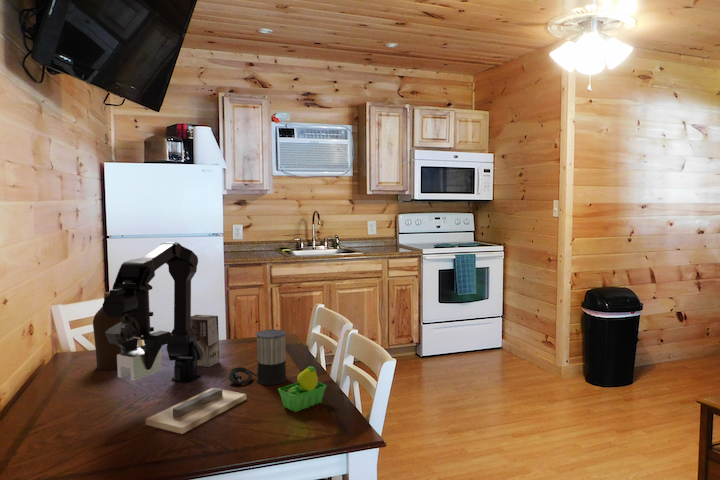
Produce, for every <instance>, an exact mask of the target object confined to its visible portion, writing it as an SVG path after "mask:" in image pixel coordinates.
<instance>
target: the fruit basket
mask: <svg viewBox="0 0 720 480" xmlns="http://www.w3.org/2000/svg"><path fill="white" fill-rule="evenodd" d="M296 378H297V379H296V381H297V382H295V383H292V384H288V385H285V386H282V387H278V388H277V390H278V393H279V395H280V398H281V402H282V404H283V408H286V409H288V410H289V411H292V412H294V413H296V412H299V411H302V409H303V410H306V409H308V408H311V407H310V406H312V407H314V406H316V405H315V404H317V405H319V404H318V403H320V404H322V400H323V397H324V393H325V391H326V388H327V385H326V384H324V383H323V382H319V378H318V375H317V369H316V367H314V366H311V365H310V366H307V368H305V369H304V370H303V371H301V372H300V373H299V374H298V375H297V377H296ZM313 405H314V406H313ZM305 408H306V409H305Z"/></svg>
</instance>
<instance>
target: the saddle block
mask: <svg viewBox="0 0 720 480" xmlns="http://www.w3.org/2000/svg"><path fill="white" fill-rule="evenodd" d="M162 360H163V359H162V348H161V349H160V350H159V352H158V354H157V356H156V359H155V361H154V363H153V365H152V368H151V369H150V370H147V369H146V363H145V353H144V350H142V349H141V348H140V346H139V347H137V348H136V349H133V350H130V351H126V352H123V353H120V354H117V369H116V370H117V378H121V379H122V378H124V377H128V376H130V381H137V380H140V379H142V378H145V377H148V376H150V375H151V376H152V375H153V374H155V373H158V372H161V371H163V364H162V363H163V362H162Z"/></svg>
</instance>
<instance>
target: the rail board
mask: <svg viewBox="0 0 720 480" xmlns="http://www.w3.org/2000/svg"><path fill="white" fill-rule="evenodd" d="M246 400H247V394H246V393H242V392H237V391H233V390H227V389H223V388H219V387H211V388H209V389H207V390H205V391H202V392H200V393H198V394H196V395H195V396H194V395H193V396H192V397H189V398H188V399H186V400H183V401H181V402H179V403H177V404H174V405H172V406H170V407H169V408H167V409H164V410H162V411H160V412H158V413H155V414H153V415H151V416H149V417H146V418H145V426H149V427H152V428H157V429H161V430H164V431H169V432H173V433H177V434H181V435H183V434H185V433H187V432H188V431H190V430H193V429H194V428H196V427H198V426H200V425H202V424H203V423H205V422H207V421H209V420H211V419H213V418H214V417H216V416H218V415H220V414H222V413H224V412H226V411H227V410H230V409H231V408H233V407H235V406H237V405H238V404H240V403H242V402H244V401H246Z"/></svg>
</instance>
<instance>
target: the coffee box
mask: <svg viewBox="0 0 720 480" xmlns="http://www.w3.org/2000/svg"><path fill="white" fill-rule="evenodd" d="M191 328H192V330H193V331H194V333H195V334H196V341H197V344H198V345H199V346H200V348H201V349H202V357H201V359H200V360H197V367H206V368H207V367H208V368H211V367H212V366H214V365H216V364H218V363H220V340H219V339H220V338H219V334H220V333H219V316H218V315H211V314H194V315H191Z"/></svg>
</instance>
